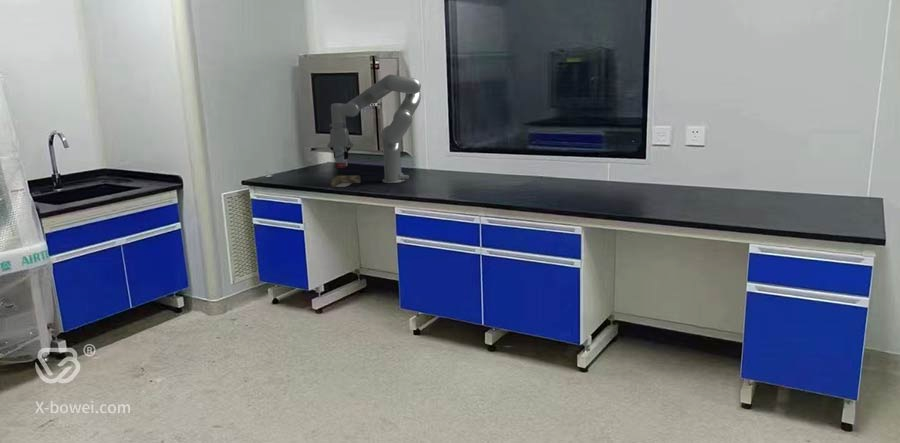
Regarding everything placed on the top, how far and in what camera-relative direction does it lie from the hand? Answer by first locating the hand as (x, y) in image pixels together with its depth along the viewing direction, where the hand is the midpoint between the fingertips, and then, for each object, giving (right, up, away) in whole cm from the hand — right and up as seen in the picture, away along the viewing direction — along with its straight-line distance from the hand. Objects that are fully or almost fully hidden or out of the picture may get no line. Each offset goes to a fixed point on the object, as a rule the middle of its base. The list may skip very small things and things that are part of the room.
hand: (341, 158), depth 370 cm
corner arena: (+2, -14, +5) cm, 15 cm away
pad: (+1, -15, +4) cm, 15 cm away
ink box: (0, -5, +1) cm, 5 cm away
